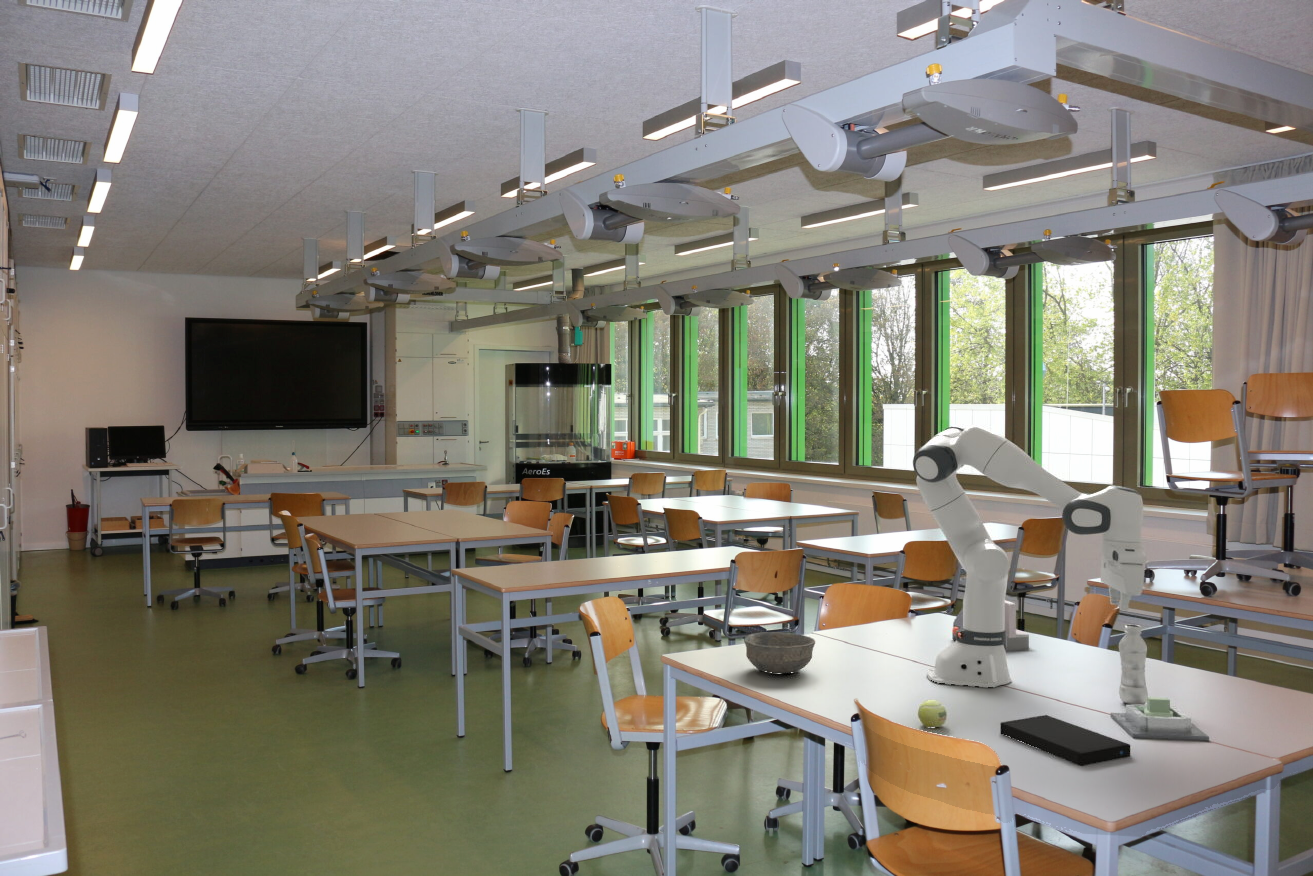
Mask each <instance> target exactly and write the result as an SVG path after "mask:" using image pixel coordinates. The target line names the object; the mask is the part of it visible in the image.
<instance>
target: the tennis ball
mask: <svg viewBox="0 0 1313 876" xmlns="http://www.w3.org/2000/svg"><path fill="white" fill-rule="evenodd" d="M917 711H918V712H917V716H918V719H919V720H920V723H921V724H922V725H923V726H924V727H925V726H926V728H927V727H939V728H941V727H942V726H943V725H944V724H945V723H946V721H947V716H948V715H947V709H946V707H945V706H944V705H943V704H942V703H941V702H940V701H938V700H937V699H936V700H935V699H933V698H932V699H929V700H925V701H923V702H922V703H921V704H920V705H919V707H918V710H917Z"/></svg>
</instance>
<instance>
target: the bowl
mask: <svg viewBox="0 0 1313 876" xmlns="http://www.w3.org/2000/svg"><path fill="white" fill-rule="evenodd" d="M743 640H744V645H745V648H746V658H747V660H748V661H749V662H750V663H751V664H752V665H753V667H755V668H756V669H758V670H759V671H761V670H762V672H764V671H767V672H772V673H791V672H794V673H796V671H797V672H799V671H801V670H802V669H804V668H806V666H807V665H808V664H809V663H810V662H811V660H812V658H813V650H814V647H815V644H816V640H815V639H814V638H812V637H810V636H807V635H804V634H803V635H802V634H797V633H788V632H774V631H771V632H767V631H766V632H763V631H762V632H755V633H751V634H748V635H746V636H745V637H744V638H743ZM767 672H766V673H767ZM791 674H792V673H791Z"/></svg>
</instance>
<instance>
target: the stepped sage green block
mask: <svg viewBox="0 0 1313 876" xmlns="http://www.w3.org/2000/svg"><path fill="white" fill-rule="evenodd" d="M1146 705H1147V708H1145V709H1144V715H1145V716H1165V717H1173V712H1172V711H1170V706H1171V700H1170V698H1169V697H1159V696H1158V697H1154V696H1152V697H1151V696H1148V697H1147V702H1146Z"/></svg>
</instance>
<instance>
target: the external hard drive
mask: <svg viewBox="0 0 1313 876" xmlns="http://www.w3.org/2000/svg"><path fill="white" fill-rule="evenodd" d="M1002 734H1004V735H1007V736H1010V737H1011V738H1010V739H1012V738H1014V739H1016V740H1015V741H1017V740H1019V741H1022V742H1024V743H1026V744H1025V745H1027V744H1029V745H1031V746H1030V747H1032V746H1034V747H1037V748H1039V749H1041V750H1040V751H1042V750H1043V752H1044V751H1046V752H1045V753H1047V752H1049V753H1051V754H1050V755H1052V754H1053V755H1052V756H1054V755H1055V757H1057V758H1058V759H1059V758H1060V759H1062V760H1065V761H1068V762H1069V761H1070V763H1073V764H1074V765H1077V766H1079V767H1083V766H1085V767H1086V766H1089V765H1095V764H1099V763H1103V762H1108V761H1115V760H1119V759H1124V758H1130V757H1131V744H1130V743H1127V742H1125V741H1122V740H1118V739H1116V738H1113V737H1110V736H1107V735H1104V734H1102V733H1099V732H1095V731H1093V730H1090V729H1087V728H1084V727H1081V726H1078V725H1077V724H1073V723H1070V722H1067V721H1064V720H1062V719H1058V718H1056V717H1053V716H1050V715H1047V714H1044V715H1039V716H1038V715H1037V716H1032V717H1025V718H1020V719H1015V720H1014V719H1013V720H1009V721H1002V722H1000V735H1002ZM1004 735H1003V736H1004ZM1007 736H1006V737H1007ZM1014 739H1013V740H1014ZM1019 741H1018V742H1019ZM1022 742H1021V743H1022ZM1024 743H1023V744H1024ZM1029 745H1028V746H1029ZM1034 747H1033V748H1034ZM1037 748H1036V749H1037ZM1039 749H1038V750H1039ZM1049 753H1048V754H1049Z"/></svg>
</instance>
